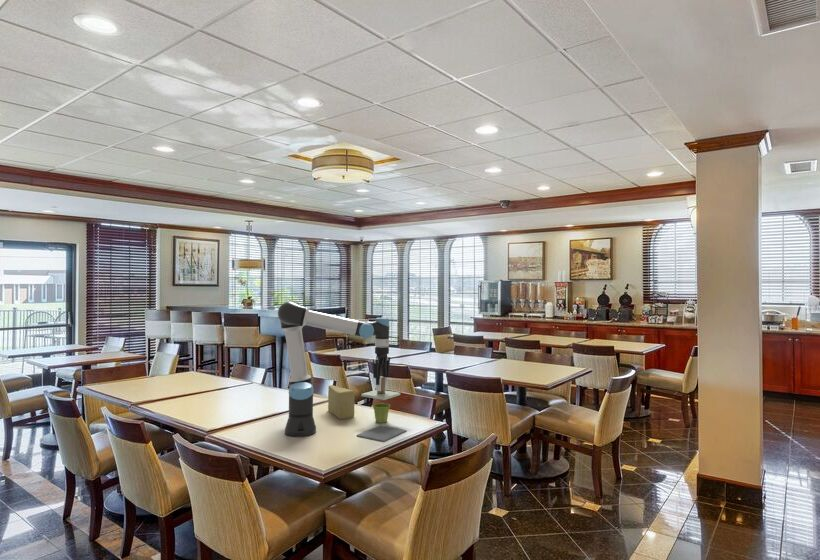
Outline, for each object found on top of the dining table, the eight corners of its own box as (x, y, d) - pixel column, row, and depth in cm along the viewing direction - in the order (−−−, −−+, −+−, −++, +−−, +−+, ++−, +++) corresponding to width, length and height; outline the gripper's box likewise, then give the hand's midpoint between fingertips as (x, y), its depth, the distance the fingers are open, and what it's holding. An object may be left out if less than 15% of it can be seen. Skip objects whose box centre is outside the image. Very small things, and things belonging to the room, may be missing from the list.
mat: (383, 441, 219) (383, 440, 219) (356, 436, 228) (356, 435, 228) (406, 431, 236) (406, 430, 236) (380, 426, 245) (380, 425, 245)
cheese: (321, 411, 275) (321, 385, 275) (336, 409, 281) (336, 383, 281) (339, 419, 257) (339, 392, 257) (354, 417, 263) (355, 390, 263)
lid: (384, 399, 244) (384, 382, 244) (361, 396, 252) (361, 378, 252) (400, 394, 257) (400, 377, 257) (377, 391, 265) (378, 375, 265)
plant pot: (372, 419, 258) (372, 403, 259) (389, 419, 259) (390, 403, 259) (372, 424, 249) (372, 407, 249) (390, 423, 250) (390, 407, 250)
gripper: (378, 348, 246) (377, 393, 245) (396, 345, 261) (395, 388, 260) (366, 347, 250) (365, 391, 249) (385, 344, 264) (384, 386, 264)
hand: (381, 389), depth 254 cm, fingers closed on lid, 4 cm apart
